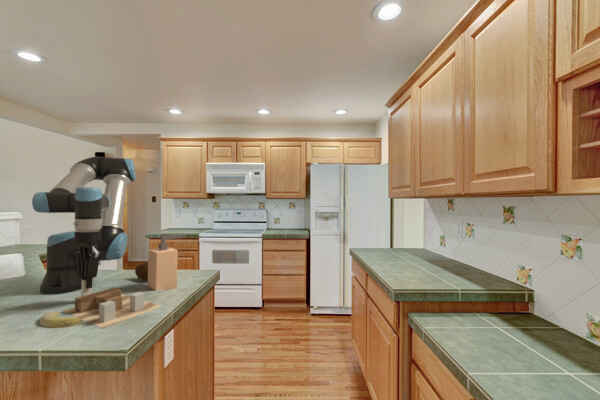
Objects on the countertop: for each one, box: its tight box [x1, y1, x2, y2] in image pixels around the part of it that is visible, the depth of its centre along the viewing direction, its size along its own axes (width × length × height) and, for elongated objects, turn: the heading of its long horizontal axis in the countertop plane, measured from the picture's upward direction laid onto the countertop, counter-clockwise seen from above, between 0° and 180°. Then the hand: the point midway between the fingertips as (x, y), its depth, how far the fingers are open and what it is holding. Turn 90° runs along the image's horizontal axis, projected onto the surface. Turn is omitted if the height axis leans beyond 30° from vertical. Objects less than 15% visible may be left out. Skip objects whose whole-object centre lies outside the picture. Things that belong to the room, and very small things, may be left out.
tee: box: [74, 287, 122, 313], centre depth 89 cm, size 12×12×4 cm
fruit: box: [39, 311, 84, 329], centre depth 79 cm, size 7×15×3 cm, turn 60°
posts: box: [99, 291, 145, 323], centre depth 84 cm, size 3×12×5 cm, turn 153°
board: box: [62, 293, 162, 329], centre depth 89 cm, size 24×18×1 cm
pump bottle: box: [147, 233, 184, 291], centre depth 114 cm, size 13×9×22 cm
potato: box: [134, 260, 148, 282], centre depth 123 cm, size 8×12×9 cm
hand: (86, 296), depth 94 cm, fingers closed
